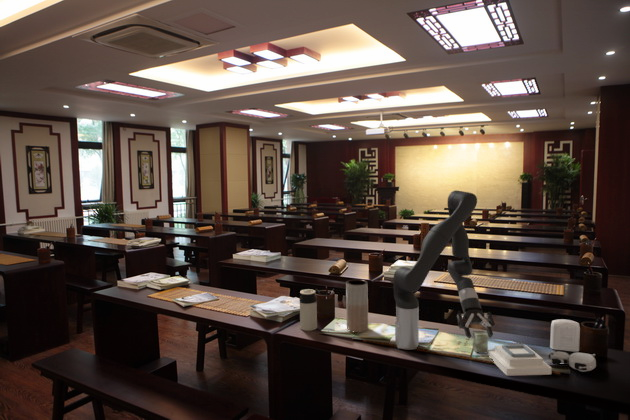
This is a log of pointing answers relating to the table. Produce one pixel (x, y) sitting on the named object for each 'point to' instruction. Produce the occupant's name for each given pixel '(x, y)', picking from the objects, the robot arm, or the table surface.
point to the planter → (357, 305)
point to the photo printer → (565, 335)
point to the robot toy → (574, 360)
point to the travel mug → (308, 310)
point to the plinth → (519, 368)
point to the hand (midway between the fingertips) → (480, 337)
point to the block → (480, 341)
